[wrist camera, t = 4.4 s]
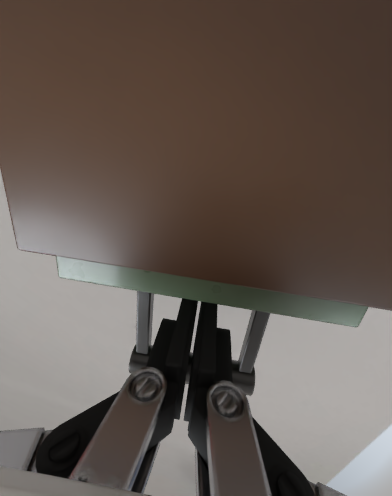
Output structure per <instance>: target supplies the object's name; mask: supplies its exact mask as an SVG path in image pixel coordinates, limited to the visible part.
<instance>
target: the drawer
mask: <svg viewBox="0 0 392 496" xmlns="http://www.w3.org/2000/svg"><path fill="white" fill-rule="evenodd" d="M56 261H57V268H58V275H59V277H60V278H65V279H71V280H76V281H82V282H88V283H94V284H100V285H106V286H112V287H118V288H124V289H130V290H136V291H137V333H136V345H135V347H134V349H133V351H132V354H131V358H130V363H129V373H133V372H134V371H136V370H137V369H140V368H142V367H146V365H147V362H148V359H149V356H150V353H151V351H152V348H153V346H152V345H151V335H152V317H153V300H154V294H160V295H166V296H172V297H178V298H184V299H190V300H196V301H202V302H208V303H214V304H220V305H226V306H232V307H238V308H244V309H250V310H252V313H251V317H250V320H249V324H248V328H247V331H246V335H245V339H244V342H243V346H242V349H241V353H240V357H239V360H238V361H236V360H232V377H233V383H234V384H236V385H237V386H239V387H240V388H241V389H242V390H243V392H244V393H245V395H249V396H251V395H252V394H253V391H254V386H255V370H254V363H255V360H256V357H257V354H258V350H259V347H260V344H261V341H262V338H263V335H264V331H265V328H266V325H267V322H268V319H269V316H270V313H274V314H280V315H286V316H291V317H297V318H303V319H309V320H315V321H321V322H327V323H333V324H339V325H345V326H351V327H358V326H359V324H360V322H361V320H362V318H363V316H364V314H365V313H366V311H367V309H368V307H367V306H361V305H355V304H348V303H342V302H336V301H330V300H324V299H318V298H312V297H305V296H299V295H293V294H287V293H281V292H275V291H268V290H262V289H256V288H250V287H244V286H238V285H232V284H225V283H219V282H213V281H207V280H201V279H195V278H188V277H182V276H176V275H170V274H164V273H158V272H151V271H145V270H139V269H133V268H127V267H121V266H115V265H108V264H102V263H96V262H90V261H84V260H78V259H71V258H65V257H59V256H56ZM192 357H193V353H191V352H190V355H189V362H188V368H187V374H186V381H185V384H189V379H190V372H191V365H192Z"/></svg>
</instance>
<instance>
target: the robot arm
mask: <svg viewBox="0 0 392 496" xmlns="http://www.w3.org/2000/svg"><path fill="white" fill-rule="evenodd" d="M197 304H198V301H196V300H190V299H184V298H182V302H181V306H180V309H179V313H178V317H177V321H175V320H169V319H164V318H163V320H162V322H161V325H160V328H159V331H158V333H157V336H156V339H155V342H154V345H153V348H152V351H151V353H150V356H149V359H148V362H147V365H146V367H142V368H140V369H137V370H136V371H134V372H133V373H131V375H130V376H129V377H128V378H127V380H126V382H125V383H124V385H123V387H122V388H121V390H120V391H119V392H117V393H116V394H114V395H112V396H110V397H109V398H107V399H105V400H103V401H102V402H100V403H98V404H96V405H94V406H93V407H91V408H89V409H87V410H86V411H84V412H82V413H80V414H79V415H77V416H75V417H73V418H72V419H70V420H68V421H66V422H65V423H63V424H61V425H59V426H58V427H57V428H55V429H54V430H47V431H45V430H44V428H32V429H18V430H5V431H0V496H150V495H145V494H143V493H144V490H145V487H146V484H147V481H148V478H149V475H150V473H151V470H152V467H153V464H154V461H155V458H156V455H157V452H158V449H159V446H160V442H161V440H162V439H164V438H165V437H166V436H167V435H169V434H170V433H171V431H172V428H173V422H174V419H180V412H181V406H182V400H183V393H184V387H185V381H186V374H187V368H188V362H189V355H190V349H191V342H192V336H193V329H194V323H195V317H196V310H197ZM184 421H189V425H188V431H189V433H188V436H189V438H190V439H191V441H192V443H193V444H194V446H195V469H196V496H346V495H344V494H342V493H340V492H338V491H336V490H334V489H332V488H330V487H328V486H326V485H323V484H321V483H319V482H318V483H317V484H314V483H312V482H310V481H308V480H307V479H306V477H305V476H304V475H303V473H302V472H301V471H300V470H299V469H298V468H297V466H296V465H295V464H294V463H293V462H292V461H291V460H290V459H289V457H288V456H287V455H286V454H285V453H284V452H283V451H282V450H281V448H280V447H279V446H278V445H277V444H276V443H275V442H274V441H273V440H272V438H271V437H270V436H269V435H268V434H267V433H266V432H265V431H264V429H263V428H262V427H261V426H260V425H259V424H258V423H257V422H256V420H255V419H254V418H253V417H252V415H251V411H250V407H249V403H248V400H247V397H246V395H245V393H244V392H243V390H242V389H241V388H240V387H239V386H237V385H236V384H234V383H233V377H232V357H231V337H230V330H227V329H222V328H217V304H214V303H208V302H202V301H201V307H200V313H199V319H198V325H197V331H196V337H195V343H194V350H193V357H192V365H191V372H190V379H189V386H188V393H187V400H186V408H185V415H184Z"/></svg>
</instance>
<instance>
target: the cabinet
mask: <svg viewBox="0 0 392 496" xmlns="http://www.w3.org/2000/svg"><path fill="white" fill-rule="evenodd" d="M0 168H1V173H2V178H3V182H4V187H5V192H6V197H7V201H8V206H9V211H10V215H11V220H12V225H13V230H14V234H15V239H16V244H17V248H18V249H19V250H22V251H28V252H35V253H41V254H47V255H53V256H59V257H65V258H71V259H78V260H84V261H90V262H96V263H102V264H108V265H115V266H121V267H127V268H133V269H139V270H145V271H151V272H158V273H164V274H170V275H176V276H182V277H188V278H195V279H201V280H207V281H213V282H219V283H225V284H232V285H238V286H244V287H250V288H256V289H262V290H268V291H275V292H281V293H287V294H293V295H299V296H305V297H312V298H318V299H324V300H330V301H336V302H342V303H348V304H355V305H361V306H367V307H373V308H379V309H385V310H392V0H0Z"/></svg>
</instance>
